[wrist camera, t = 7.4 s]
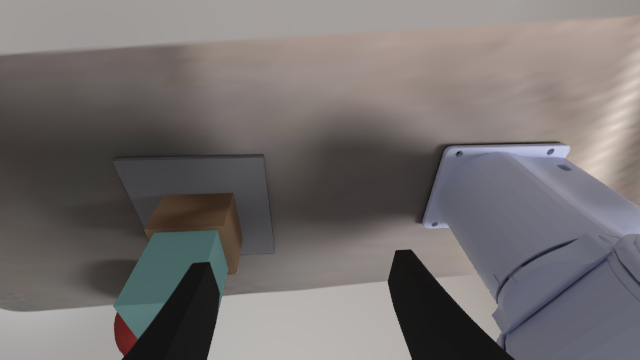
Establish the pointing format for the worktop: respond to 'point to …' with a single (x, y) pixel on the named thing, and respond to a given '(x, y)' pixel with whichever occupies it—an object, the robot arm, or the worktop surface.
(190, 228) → the walnut block
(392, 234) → the worktop surface
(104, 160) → the worktop surface
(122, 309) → the teal block
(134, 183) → the mat
